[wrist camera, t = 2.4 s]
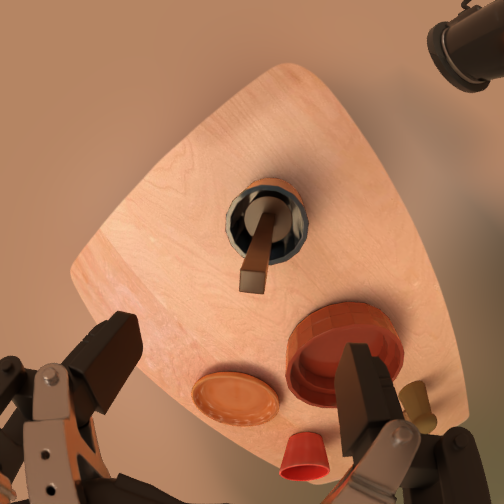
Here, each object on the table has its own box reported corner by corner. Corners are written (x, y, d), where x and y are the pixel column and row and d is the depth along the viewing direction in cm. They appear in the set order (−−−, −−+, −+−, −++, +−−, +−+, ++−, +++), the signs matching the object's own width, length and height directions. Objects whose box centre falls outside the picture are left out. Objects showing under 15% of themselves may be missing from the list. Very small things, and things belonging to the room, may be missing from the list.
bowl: (295, 295, 37) (296, 319, 31) (406, 303, 35) (421, 325, 30) (280, 379, 43) (278, 405, 37) (373, 382, 41) (379, 406, 36)
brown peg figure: (420, 396, 42) (434, 435, 32) (395, 402, 43) (407, 443, 33) (428, 378, 40) (445, 418, 30) (401, 384, 41) (416, 427, 31)
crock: (240, 175, 32) (227, 182, 24) (305, 180, 31) (312, 189, 24) (237, 236, 35) (224, 260, 27) (299, 242, 34) (302, 268, 26)
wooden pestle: (251, 187, 32) (207, 234, 14) (293, 191, 31) (304, 243, 14) (248, 228, 34) (208, 314, 16) (289, 232, 33) (291, 324, 15)
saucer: (284, 415, 47) (283, 426, 44) (208, 415, 49) (205, 425, 47) (273, 361, 41) (272, 374, 39) (183, 363, 44) (178, 375, 41)
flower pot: (272, 442, 51) (269, 476, 42) (300, 423, 47) (299, 461, 38) (308, 452, 52) (308, 483, 43) (337, 434, 48) (340, 468, 39)
